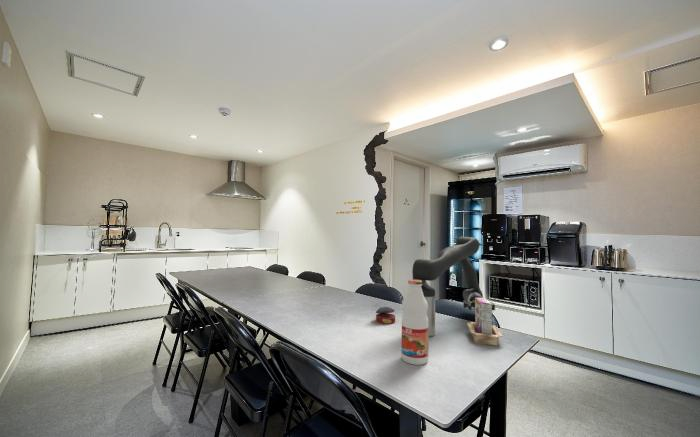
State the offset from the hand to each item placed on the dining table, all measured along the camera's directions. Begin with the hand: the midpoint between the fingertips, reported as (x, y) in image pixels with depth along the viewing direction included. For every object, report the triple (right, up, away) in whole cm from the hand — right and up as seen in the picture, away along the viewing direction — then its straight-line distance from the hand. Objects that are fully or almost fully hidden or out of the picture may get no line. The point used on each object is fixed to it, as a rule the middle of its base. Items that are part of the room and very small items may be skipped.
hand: (480, 308), depth 136 cm
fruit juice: (-39, -8, -34) cm, 52 cm away
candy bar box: (-3, -10, -10) cm, 15 cm away
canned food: (-44, -11, +12) cm, 46 cm away
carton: (-3, -10, -10) cm, 14 cm away
